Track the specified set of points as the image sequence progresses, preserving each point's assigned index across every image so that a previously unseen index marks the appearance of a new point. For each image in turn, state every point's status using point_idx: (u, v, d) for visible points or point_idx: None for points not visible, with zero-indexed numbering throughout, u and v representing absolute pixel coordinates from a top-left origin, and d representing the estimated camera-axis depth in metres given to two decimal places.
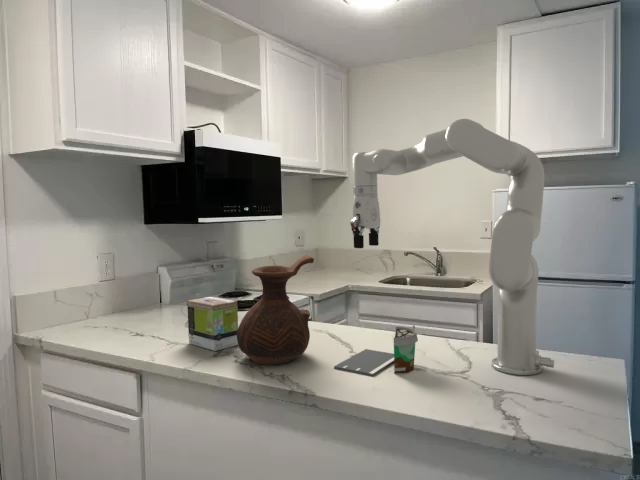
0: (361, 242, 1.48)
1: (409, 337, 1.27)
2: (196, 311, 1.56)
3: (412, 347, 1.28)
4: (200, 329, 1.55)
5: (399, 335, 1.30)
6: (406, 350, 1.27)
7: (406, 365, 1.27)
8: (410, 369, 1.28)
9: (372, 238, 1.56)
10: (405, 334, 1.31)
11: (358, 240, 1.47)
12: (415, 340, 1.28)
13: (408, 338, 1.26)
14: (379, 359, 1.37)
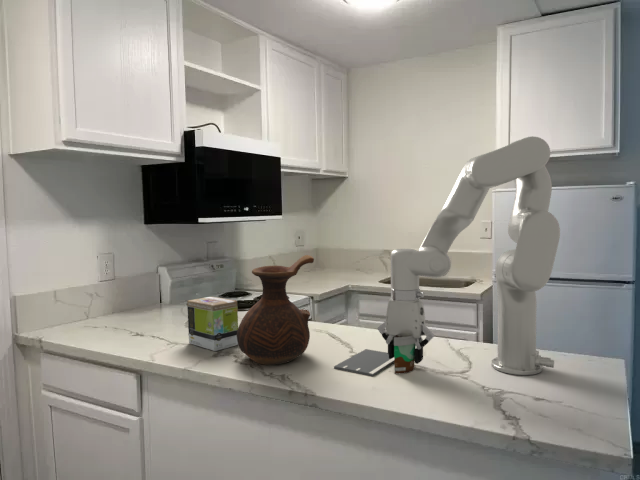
0: None
1: (409, 337, 1.26)
2: (196, 311, 1.56)
3: (412, 347, 1.28)
4: (200, 329, 1.55)
5: None
6: (406, 350, 1.27)
7: (406, 365, 1.27)
8: (410, 369, 1.28)
9: (393, 349, 1.33)
10: None
11: (422, 353, 1.29)
12: (415, 340, 1.28)
13: (408, 338, 1.26)
14: (379, 359, 1.37)
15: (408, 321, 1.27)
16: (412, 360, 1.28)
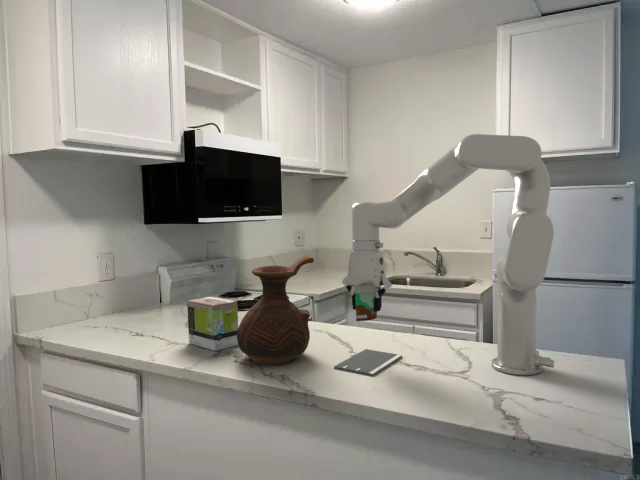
0: None
1: (370, 286, 1.32)
2: (196, 311, 1.56)
3: (373, 296, 1.33)
4: (200, 329, 1.55)
5: None
6: (367, 298, 1.32)
7: (367, 312, 1.33)
8: (372, 317, 1.34)
9: None
10: None
11: (380, 302, 1.35)
12: (376, 289, 1.33)
13: (369, 286, 1.32)
14: (379, 359, 1.37)
15: (368, 270, 1.33)
16: (373, 308, 1.34)
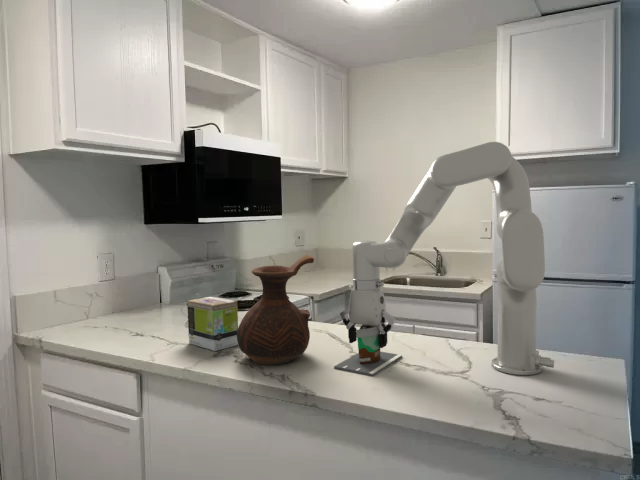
0: None
1: (372, 328, 1.33)
2: (196, 311, 1.56)
3: (376, 338, 1.34)
4: (200, 329, 1.55)
5: (364, 327, 1.36)
6: (369, 341, 1.33)
7: (370, 355, 1.33)
8: (375, 359, 1.34)
9: (353, 334, 1.40)
10: (370, 326, 1.37)
11: (386, 338, 1.35)
12: (378, 331, 1.34)
13: (370, 329, 1.32)
14: None
15: (369, 309, 1.34)
16: (376, 351, 1.35)
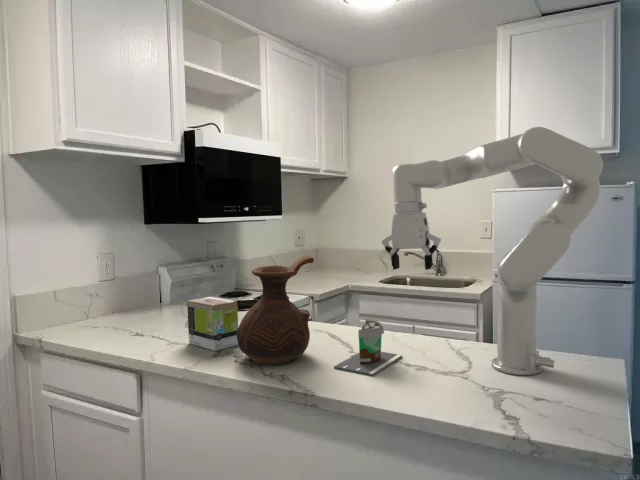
0: None
1: (374, 329, 1.33)
2: (196, 311, 1.56)
3: (377, 339, 1.34)
4: (200, 329, 1.55)
5: (366, 328, 1.36)
6: (371, 341, 1.33)
7: (371, 356, 1.33)
8: (375, 360, 1.34)
9: (396, 261, 1.39)
10: (372, 327, 1.37)
11: (431, 260, 1.34)
12: (380, 332, 1.34)
13: (373, 330, 1.32)
14: None
15: (413, 231, 1.33)
16: (377, 352, 1.35)
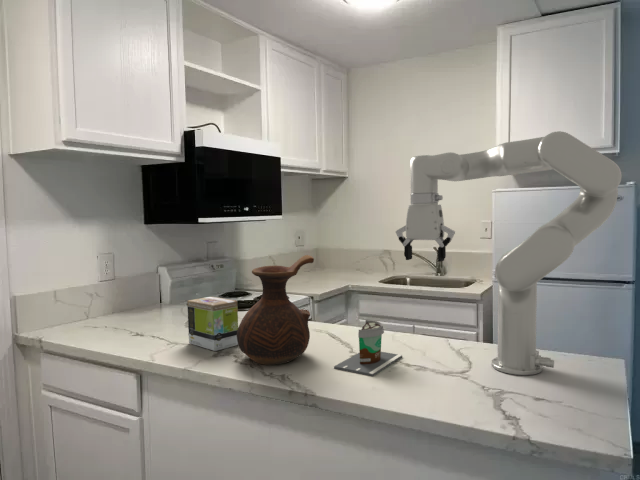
0: None
1: (374, 329, 1.33)
2: (196, 311, 1.56)
3: (377, 339, 1.34)
4: (200, 329, 1.55)
5: (366, 328, 1.36)
6: (371, 341, 1.33)
7: (371, 356, 1.33)
8: (375, 360, 1.34)
9: (409, 251, 1.40)
10: (372, 327, 1.37)
11: (445, 252, 1.35)
12: (380, 332, 1.34)
13: (373, 330, 1.32)
14: None
15: (428, 223, 1.34)
16: (377, 352, 1.35)
